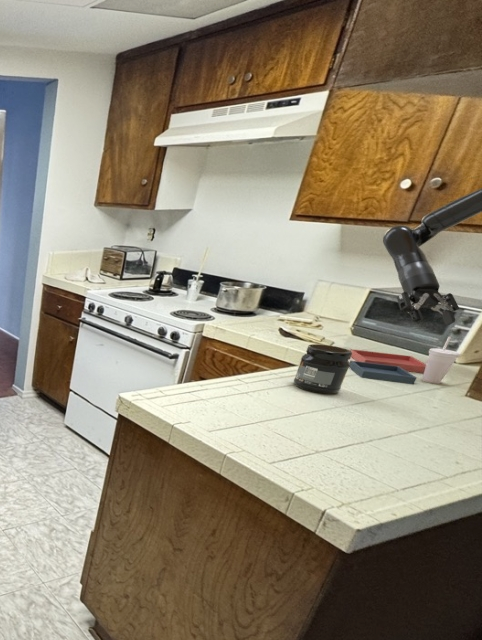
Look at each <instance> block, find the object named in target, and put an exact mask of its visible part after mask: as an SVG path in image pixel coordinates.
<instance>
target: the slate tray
mask: <svg viewBox="0 0 482 640" xmlns="http://www.w3.org/2000/svg"><path fill="white" fill-rule="evenodd" d="M349 363H350V368H351V369H350V368H349V369H350V370H351V371H353V372H354V373H355V374H356V375H358V376H359V377H360V378H363V379H370V380H371V379H372V380H378V381H379V380H380V381H388V382H394V383H402V384H409V385H415V383H416V381H417V377H416V376H415V375H414V374H412V373H410V371H405V370H404V369H402V368H401V367H399V366H391V365H383V364H375V363H366V362H358V361H356V360H349Z"/></svg>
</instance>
